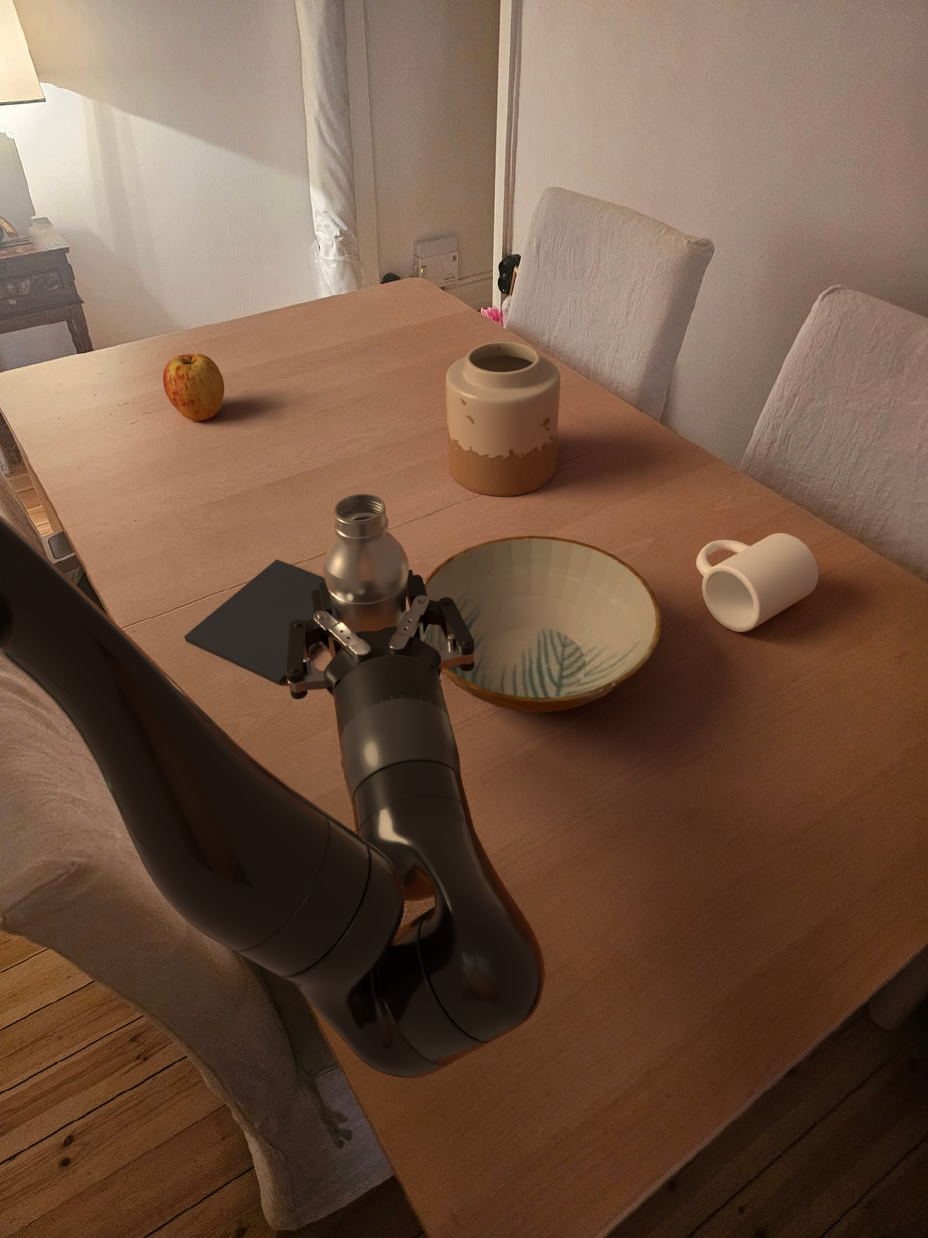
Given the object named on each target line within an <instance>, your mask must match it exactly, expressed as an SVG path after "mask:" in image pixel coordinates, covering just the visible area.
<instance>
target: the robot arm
mask: <svg viewBox="0 0 928 1238" xmlns="http://www.w3.org/2000/svg"><path fill="white" fill-rule="evenodd" d="M319 588H320V589H316V590H313V592H312V602H313V611H314V615H313V617H312V618H311V619H310V620H308V621H306V622H305V621H304V620H300V619H298V620H294V621H293V622H291V624H290V628H289V639H288V649H287V660H286V670H285V672H286V676H287V684H288V689H289V693H290V696H291V698H292V699H294V700H302V699H304V698H305V697H307V695H308V693H309V691H314V690H326V691H327V692H328V693H329V694H330V696H332V698H333V703H334V709H335V710H334V711H335V718H336V725H337V726H336V727H337V733H338V740H339V750H340V755H341V760H340V763H341V769H342V770H343V778H344V782H345V785H346V788H347V792H348V794H349V798H350V803H351V809H352V810H351V811H352V817H353V824H354V831H355V832H354V831H353V830H351V829H350V828H349V827H347V826H346V825H344V824H343V822H340V820H338V819H336V818H335V817H334V816H332V815H331V814H329V813H328V812H326V811H325V810H323V809H322V808H321V807H319V806H318V805H316V804H315V803H314V802H313V801H311V800H310V799H308V798H306V796H304V795H302V794H301V793H300V792H298V791H297V790H295V789H293V788H292V787H291V786H289V785H288V784H287V783H286V782H284V780H282V779H281V778H279V777H278V776H277V775H276V774H275V773H273V772H272V771H270V770H269V769H268V768H266V767H265V766H264V765H263V764H262V763H261V762H259V761H258V760H257V759H256V758H254V757H253V756H252V755H251V754H249V752H247V750H245V749H244V748H243V747H242V746H240V744H239V743H237V742H236V741H235V740H234V739H233V738H232V737H231V736H230V735H229V734H228V733H226V731H225V730H224V729H223V728H221V726H219V725H218V723H216V722H215V720H213V719H212V718H211V717H210V716H209V715H208V714H207V713H206V712H205V711H204V710H203V709H202V708H201V707H200V706H199V705H198V704H197V703H196V702H195V701H194V699H192V698H191V697H190V696H189V695H188V694H187V693H186V691H185V690H183V689H182V687H181V686H179V685H178V683H176V681H175V680H174V679H172V677H171V676H170V675H169V674H168V673H166V671H164V669H163V668H162V667H160V665H158V663H157V662H156V661H155V660H154V659H153V658H152V657H151V656H150V655H148V653H147V652H146V651H144V649H143V648H142V647H141V646H140V645H139V644H138V643H137V642H136V641H135V640H133V638H132V637H131V636H130V635H129V634H127V632H125V630H123V629H122V628H121V627H120V625H118V624H117V623H116V622H115V621H114V620H113V619H112V618H111V617H109V615H108V614H107V613H105V612H104V611H103V610H102V609H101V608H100V607H99V606H98V605H97V604H96V603H95V602H94V601H93V600H92V599H91V598H90V597H89V596H88V595H87V594H85V593H84V592H83V590H82V589H80V587H78V586H77V585H76V584H75V583H74V582H73V581H72V580H71V579H70V578H69V577H68V576H67V575H66V574H65V573H64V572H63V571H61V570H60V569H59V568H58V566H57V565H56V564H54V563H53V561H51V560H50V558H48V557H47V556H46V555H45V554H44V553H43V552H42V551H41V550H40V549H39V548H38V547H37V546H36V545H34V543H32V541H30V539H28V538H27V537H26V536H25V535H24V534H23V533H22V532H20V531H19V530H18V529H17V528H16V527H15V526H14V525H13V524H11V522H10V521H9V520H7V519H6V518H5V517H4V516H3V515H2V514H0V656H1V657H2V658H4V659H5V661H7V662H9V663H10V664H11V665H12V666H14V667H15V668H16V669H18V670H19V671H21V673H23V674H24V675H25V676H26V677H27V678H29V679H30V680H31V681H32V682H34V684H35V685H37V686H38V687H39V688H40V689H41V690H42V692H44V693H45V695H47V696H48V697H49V698H50V700H51V701H53V703H54V704H55V705H56V706H57V708H59V710H60V711H61V712H62V713H63V715H64V716H65V717H66V718H67V720H68V721H69V723H70V724H71V725H72V727H73V728H74V729H75V731H76V732H77V734H78V735H79V737H80V739H81V741H82V742H83V744H84V746H85V748H86V749H87V751H88V752H89V754H90V756H91V757H92V759H93V761H94V763H95V764H96V766H97V768H98V770H99V772H100V774H101V776H102V778H103V781H104V782H105V785H106V787H107V788H108V790H109V792H110V794H111V795H110V796H112V799H113V801H114V803H115V806H116V808H117V810H118V813H119V815H120V817H121V820H122V822H123V824H124V826H125V828H126V831H127V833H128V835H129V838H130V840H131V842H132V844H133V845H134V848H135V850H136V852H137V854H138V856H139V858H140V860H141V863H142V864H143V866H144V869H146V872H147V873H148V875H149V877H150V879H151V880H152V882H153V884H154V885H155V886H156V888H157V889H158V891H159V892H160V893H161V895H162V896H163V898H165V900H166V901H167V902H168V903H169V904H170V905H171V906H172V908H173V909H174V910H175V911H176V912H177V913H178V914H179V915H180V916H181V917H182V918H183V919H184V920H186V921H187V922H188V923H189V924H190V925H191V926H192V927H194V928H195V929H196V930H197V931H198V932H200V933H202V934H203V935H205V936H207V938H209V939H211V940H212V941H215V942H216V943H218V944H220V945H222V946H223V947H225V948H227V949H229V950H231V951H233V952H234V953H237V954H238V955H240V956H242V957H244V958H245V959H247V960H249V961H251V962H253V963H254V964H256V965H257V966H260V967H261V968H264V969H265V970H267V971H269V972H271V973H272V974H275V976H278V977H279V978H281V979H283V980H286V981H287V982H290V983H292V984H293V985H294V986H295V987H296V988H297V990H298V991H299V992H300V993H301V994H302V995H303V996H304V998H305V999H307V1001H308V1002H309V1004H310V1006H312V1007H313V1008H314V1010H316V1012H317V1013H318V1014H319V1015H320V1016H321V1017H322V1018H323V1019H324V1020H325V1021H326V1023H327V1024H328V1025H329V1026H330V1027H331V1028H332V1029H333V1030H334V1031H335V1032H336V1034H337V1035H338V1036H339V1037H340V1038H341V1040H342V1041H343V1042H344V1043H345V1044H346V1046H348V1047H349V1048H350V1050H352V1052H353V1053H354V1054H355V1055H356V1057H358V1058H359V1060H361V1062H363V1063H364V1064H365V1065H366V1066H368V1067H369V1068H371V1069H372V1070H374V1071H376V1072H379V1073H381V1074H384V1075H387V1076H390V1077H395V1078H402V1079H418V1078H424V1077H426V1076H430V1075H433V1074H434V1073H437V1072H439V1071H441V1070H442V1069H444V1068H446V1067H448V1066H450V1065H451V1064H453V1063H455V1062H457V1061H458V1060H460V1059H462V1058H464V1057H466V1056H468V1055H469V1054H471V1053H473V1052H476V1051H477V1050H479V1049H481V1048H483V1047H485V1046H486V1045H489V1044H490V1043H493V1042H494V1041H496V1040H498V1039H500V1038H502V1037H504V1036H505V1035H507V1034H509V1033H511V1032H513V1031H514V1030H517V1029H518V1028H520V1027H521V1026H523V1025H524V1024H525V1023H526V1022H527V1021H529V1020H531V1018H533V1016H534V1014H535V1013H536V1012H537V1010H538V1008H539V1007H540V1006H539V1005H540V1003H541V1000H542V997H543V993H544V988H545V979H546V978H545V977H546V971H545V970H546V969H545V959H544V954H543V951H542V950H543V949H542V947H541V944H540V942H539V939H538V937H537V934H536V933H535V931H534V930H533V927H532V925H531V924H530V922H529V921H528V919H527V918H526V916H525V915H524V913H523V912H522V910H521V909H520V907H519V906H518V904H517V902H516V901H515V900H514V898H513V897H512V895H511V894H510V892H509V891H508V889H507V887H506V886H505V885H504V882H503V881H502V879H501V877H500V876H499V874H498V872H497V870H496V869H495V866H494V865H493V863H492V862H491V861H492V860H491V859H490V858H489V856H488V853H487V851H486V850H485V848H484V846H483V844H482V842H481V840H480V838H479V836H478V835H477V832H476V830H475V826H474V822H473V818H472V814H471V810H470V806H469V803H468V799H467V795H466V791H465V787H464V783H463V779H462V771H461V761H460V752H459V749H458V744H457V741H456V736H455V733H454V730H453V726H452V722H451V718H450V715H449V710H448V707H447V706H448V705H447V703H446V699H445V695H444V692H443V688H442V684H441V681H440V676H441V674H442V669H446V668H450V667H453V666H457V665H458V666H459V668H460V669H461V670H462V671H471V670H473V669H474V667H475V648H474V640H473V638H472V636H471V634H470V632H469V630H468V628H467V626H466V624H465V622H464V620H463V618H462V616H461V614H460V612H459V610H458V608H457V606H456V604H455V602H454V600H453V599H452V598H449V597H444V598H441V599H440V600H439V601H432V600H430V599H429V598H428V596H427V593H426V589H425V586H424V579H423V577H422V576H421V575H420V574H414V572H413V569H409V574H408V585H407V596H406V601H407V603H408V608H409V609H408V611H407V610H406V612H405V614H404V616H403V618H402V620H401V622H400V624H399V626H398V628H397V626H394V627H387V628H384V629H381V630H378V631H362V632H355V633H353V632H352V631H351V630H350V629H349V628H348V627H347V626H346V625H345V624H344V623H343V622H339V623H338V622H337V621H336V620H335V619H334V618H333V613H332V606H331V599H330V594H329V591H328V588H327V586H326V582H322V583H319ZM430 625H440V628H441V630H442V633H443V635H444V637H445V639H446V640H445V641H444V649H443V650H442V651H441V652H438V651H437V650H436V649H435V648H433V647H431V646H430V645H428V644H427V643H425V642H424V639H425V636H426V634H427V632H428V629H429V627H430ZM318 642H319V643H320V644H321V647H323V648H324V649H325V650H326V651H327V653H328V654H329V655H330V657H331V660H330V661H329V663H328V664H327V665H326V667H325V668H324V670H320V669H318V668H317V665H316V662H314V661H311V656H310V648H311V645H313V644H316V643H318ZM433 898H434V906H432V907H431V908H429V909H428V910H426V911H425V912H423V913H421V914H420V915H418V916H416V917H415V918H413V919H412V920H410V921H409V922H407V923H405V924H404V925H402V926H401V923H402V920H403V916H404V911H405V905H406V903H407V902H418V901H423V900H427V899H433ZM400 926H401V927H400Z"/></svg>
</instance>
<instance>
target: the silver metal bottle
mask: <svg viewBox="0 0 928 1238" xmlns="http://www.w3.org/2000/svg"><path fill="white" fill-rule="evenodd" d="M333 514H334V515H333V516H334V532H335V535H336V538H335V540H334V541H333V542H332V544H331V545H330V546H329V549H328V550H327V552H326V553H325V557H324V560H323V566H322V573H323V577H324V578H325V582H326V586H327V588H328V591H329V594H330V596H331V599H332V602H333V604H334V607H335V610H336V613H337V618H338V622H343V623H344V624H345V625H346V626H347V627H348V628H349V629H350V630H351V631H352V632H353V633H355V632H362V631H378V630H381V629H384V628H387V627H394V626H397V628H398V626H399V624H400V622H401V620H402V618H403V616H404V614H405V612H406V611H407V585H408V574H409V570H410V569H409V566H410V565H409V564H410V563H409V558H408V555H407V554H406V551H405V549H404V547H403V545H402V543H400V542H399V541H398V540H397V539H396V537H395V536H394V535H392V533H390V532H389V531H388V529H389V519H388V517H387V510H386V503H385V500H383V499H382V498H381V497H380V496H378V495H375V494H371V493H370V494H369V493H355V494H352V495H348V496H345V497H344V498H342V499H341V500H339V501H337V503H336V504H335V505H334V511H333Z"/></svg>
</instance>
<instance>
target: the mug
mask: <svg viewBox="0 0 928 1238" xmlns="http://www.w3.org/2000/svg"><path fill="white" fill-rule="evenodd" d="M718 551H728V552H732V553H735V554H733V555H732V556H730V557H728V558H726V559H725V560H723V561H721V562H719V563H717V564H716V565H712V564H711V563H710V561H709V560H708V557H709V556H710V555H712V554H713V553H716V552H718ZM695 560H696V561H695V562H696V563H695V564H696V568H697V570H698V572H699V573H700V574H701V576H702V577H703V579H702V581H701V582H702V583H701V592H702V597H703V601H704V603H705V605H706V609H708V611H709V613H710V614H711V615H712V617H713V618H714V619H715V620H716V621H717V622H718V623H719V624H720V625H721V626H723V627H725V628H726V629H728V630H731V631H732V632H736V633H746V632H749V631H751V630H753V629H755V628H757V627H758V626H760V625H761V624H764V622H767V621H768V620H770V619H771V618H774V617H775V616H777V615H778V614H779V613H782V612H783V611H784V610H786V609H787V608H789V607H791V606H792V605H794V604H796V603H798V602H799V601H801V600H802V599H804V598H805V597H807V596H809V595H810V594H811V593H812V592H813V591H814V590H815V588H816V587H817V584H818V580H819V567H818V563H817V561H816V557H815V555H814V554H813V552H812V551H811V549H810V548H809V546H807V545H806V543H804V542H803V541H802V540H801V539H799V538H798V537H795V535H791V534H789V533H785V532H778V533H772V534H770V535H768V536H766V537H764V538H763V539H761V540H759V541H756V542H755V543H754V544H751V545H749V544H747V543H745V542H741V541H737V540H733V539H718V540H717V539H716V540H713V541H710V542H709V543H707V544H706V545H704V546H703V547H702V549H701V550H700V551H699V553H697V557H696V559H695Z"/></svg>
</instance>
